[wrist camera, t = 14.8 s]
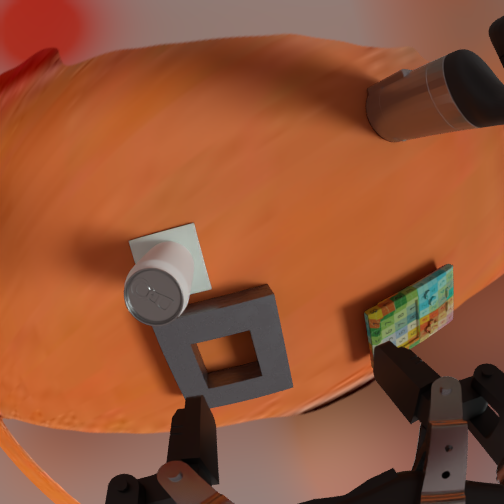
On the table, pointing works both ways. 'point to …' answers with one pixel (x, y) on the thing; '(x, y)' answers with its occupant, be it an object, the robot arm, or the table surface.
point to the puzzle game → (412, 312)
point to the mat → (184, 237)
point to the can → (160, 284)
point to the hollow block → (219, 325)
